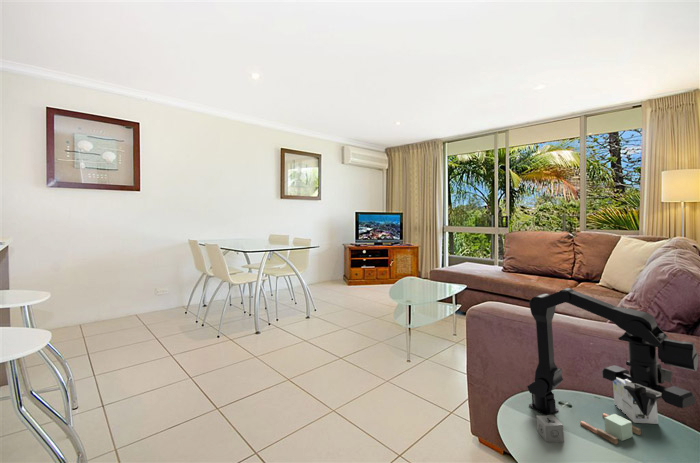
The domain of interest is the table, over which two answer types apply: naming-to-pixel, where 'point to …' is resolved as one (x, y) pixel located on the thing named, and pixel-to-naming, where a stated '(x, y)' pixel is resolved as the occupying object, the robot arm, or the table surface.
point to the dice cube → (550, 428)
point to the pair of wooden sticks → (605, 434)
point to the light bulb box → (631, 404)
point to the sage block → (618, 427)
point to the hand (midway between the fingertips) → (646, 415)
